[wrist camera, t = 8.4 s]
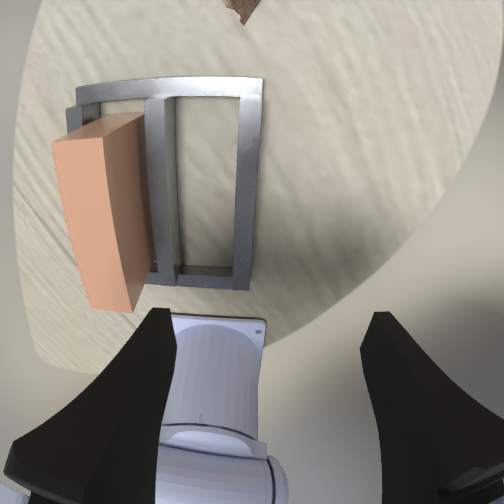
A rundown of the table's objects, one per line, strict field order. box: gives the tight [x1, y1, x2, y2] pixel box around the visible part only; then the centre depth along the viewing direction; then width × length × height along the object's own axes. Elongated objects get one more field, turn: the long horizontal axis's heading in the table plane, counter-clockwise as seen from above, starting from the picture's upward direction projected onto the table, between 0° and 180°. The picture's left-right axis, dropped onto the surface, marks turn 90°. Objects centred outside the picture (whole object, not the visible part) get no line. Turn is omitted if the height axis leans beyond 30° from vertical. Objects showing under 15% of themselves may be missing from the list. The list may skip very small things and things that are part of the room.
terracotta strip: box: [52, 112, 156, 313], centre depth 15 cm, size 9×2×6 cm, turn 177°
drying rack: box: [66, 76, 263, 290], centre depth 17 cm, size 13×10×2 cm
